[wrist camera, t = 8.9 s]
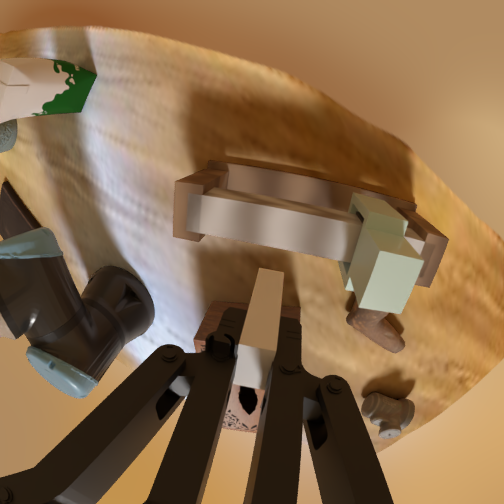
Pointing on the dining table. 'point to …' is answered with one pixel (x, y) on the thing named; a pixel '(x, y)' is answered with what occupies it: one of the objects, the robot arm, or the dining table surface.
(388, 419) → the pipe fitting
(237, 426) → the tissue box cover
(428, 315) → the dining table surface
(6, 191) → the hardcover book
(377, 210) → the pale green slider block
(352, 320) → the pipe
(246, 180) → the rail
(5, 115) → the milk carton
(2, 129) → the grey green cup
